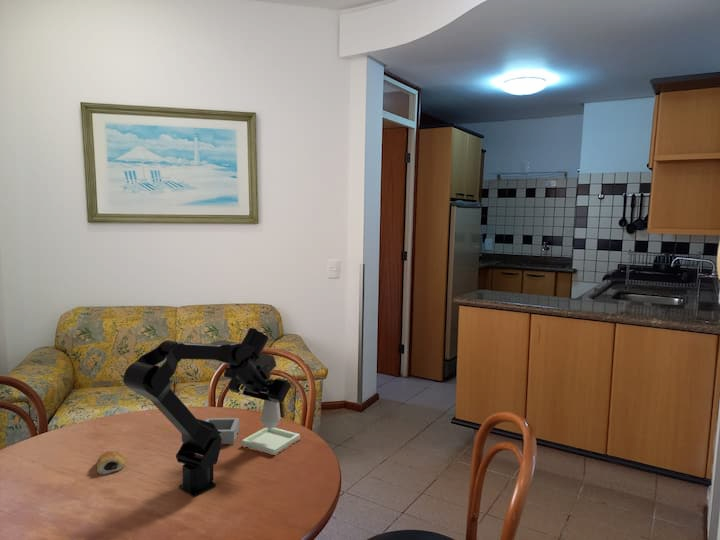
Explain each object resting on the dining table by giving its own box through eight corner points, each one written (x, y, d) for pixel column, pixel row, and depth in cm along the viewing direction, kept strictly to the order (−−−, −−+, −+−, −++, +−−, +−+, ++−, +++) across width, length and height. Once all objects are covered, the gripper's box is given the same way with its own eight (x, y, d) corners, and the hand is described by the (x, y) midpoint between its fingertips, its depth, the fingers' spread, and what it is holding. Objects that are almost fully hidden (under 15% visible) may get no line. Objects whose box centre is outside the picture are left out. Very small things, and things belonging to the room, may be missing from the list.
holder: (233, 444, 142) (233, 431, 142) (198, 445, 141) (198, 431, 141) (239, 430, 152) (239, 417, 152) (206, 430, 151) (206, 418, 151)
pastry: (96, 461, 131) (96, 447, 131) (124, 456, 134) (124, 442, 134) (96, 477, 123) (96, 462, 122) (126, 471, 126) (126, 457, 126)
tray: (274, 456, 135) (274, 449, 135) (241, 446, 141) (241, 440, 141) (300, 440, 146) (300, 434, 145) (268, 431, 151) (268, 425, 151)
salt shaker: (261, 430, 139) (262, 386, 138) (259, 422, 144) (259, 380, 143) (282, 428, 141) (283, 384, 140) (278, 421, 146) (279, 378, 145)
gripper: (287, 352, 132) (309, 381, 142) (235, 343, 141) (260, 371, 151) (268, 388, 126) (293, 416, 136) (215, 376, 134) (242, 403, 145)
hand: (271, 400), depth 142 cm, fingers closed on salt shaker, 3 cm apart
